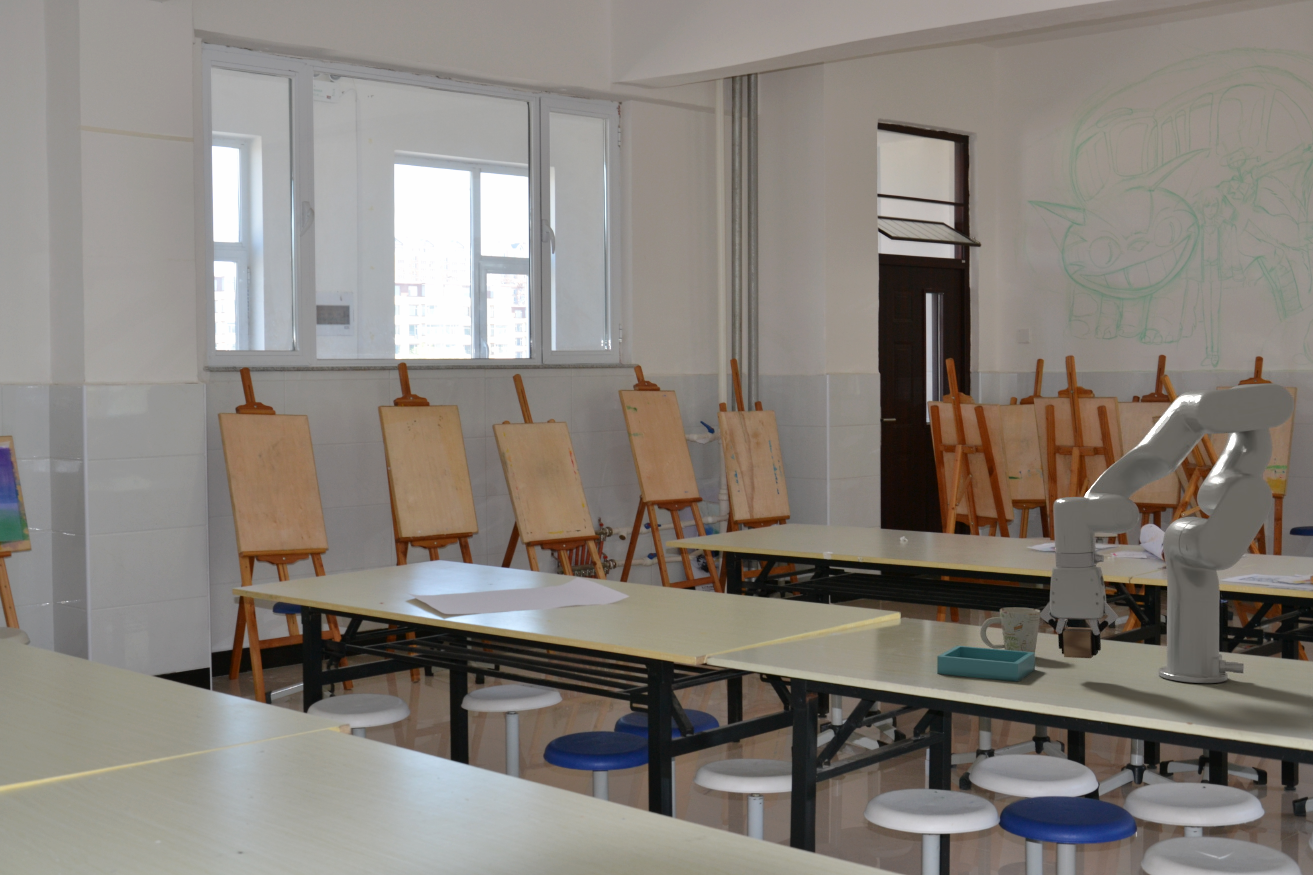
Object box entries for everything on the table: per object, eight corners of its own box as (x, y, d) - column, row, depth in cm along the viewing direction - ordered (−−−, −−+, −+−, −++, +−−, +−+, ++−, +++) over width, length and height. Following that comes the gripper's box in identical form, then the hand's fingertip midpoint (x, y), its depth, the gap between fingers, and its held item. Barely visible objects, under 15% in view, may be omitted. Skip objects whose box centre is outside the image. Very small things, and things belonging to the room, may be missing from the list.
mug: (1044, 660, 270) (1045, 613, 270) (985, 660, 270) (985, 612, 270) (1034, 653, 279) (1034, 607, 278) (976, 652, 279) (976, 607, 279)
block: (1095, 653, 251) (1094, 627, 251) (1090, 658, 246) (1089, 632, 246) (1069, 652, 253) (1068, 627, 253) (1064, 657, 249) (1063, 631, 249)
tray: (1034, 669, 260) (1034, 652, 260) (1018, 681, 248) (1018, 663, 248) (957, 662, 268) (957, 645, 268) (937, 673, 256) (937, 656, 256)
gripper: (1124, 558, 248) (1129, 651, 249) (1035, 557, 257) (1040, 647, 257) (1118, 563, 242) (1122, 659, 242) (1027, 562, 250) (1031, 655, 251)
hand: (1079, 652), depth 250 cm, fingers closed on block, 5 cm apart
